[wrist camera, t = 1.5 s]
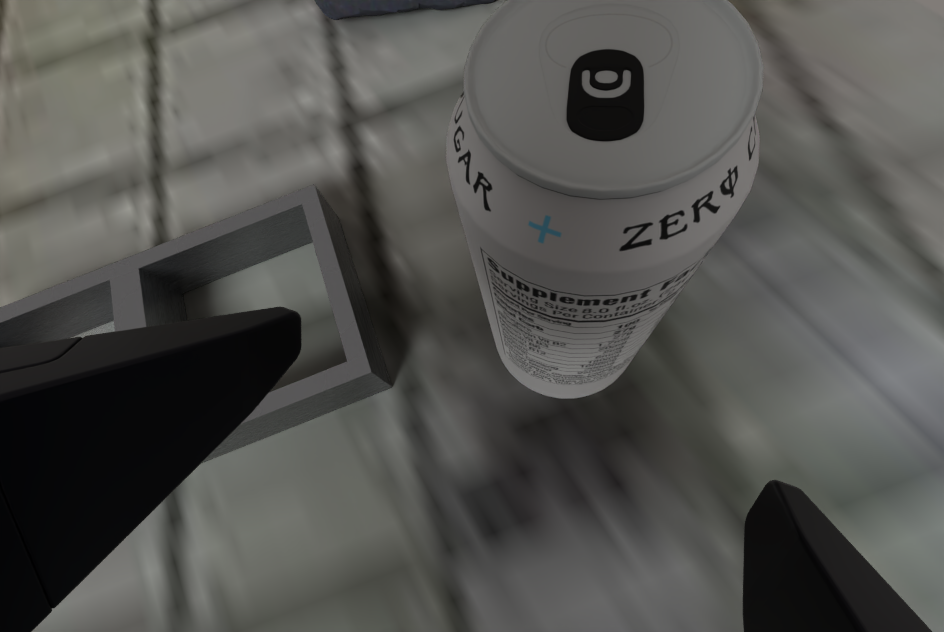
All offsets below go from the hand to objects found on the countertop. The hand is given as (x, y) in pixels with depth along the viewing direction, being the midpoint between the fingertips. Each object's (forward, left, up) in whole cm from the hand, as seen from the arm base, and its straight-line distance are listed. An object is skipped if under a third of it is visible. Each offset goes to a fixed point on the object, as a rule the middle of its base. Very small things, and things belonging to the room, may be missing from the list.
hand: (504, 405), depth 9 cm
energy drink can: (+4, -4, -13) cm, 14 cm away
